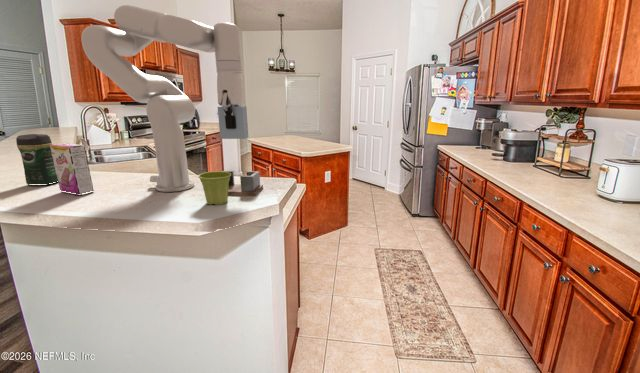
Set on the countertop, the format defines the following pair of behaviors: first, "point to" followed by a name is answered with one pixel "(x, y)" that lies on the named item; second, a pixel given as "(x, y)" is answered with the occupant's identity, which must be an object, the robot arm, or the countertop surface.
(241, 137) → the door panel
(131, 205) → the countertop surface
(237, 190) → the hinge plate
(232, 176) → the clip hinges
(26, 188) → the countertop surface
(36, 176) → the coffee jar
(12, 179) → the countertop surface
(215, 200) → the plant pot
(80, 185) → the candy bar box
